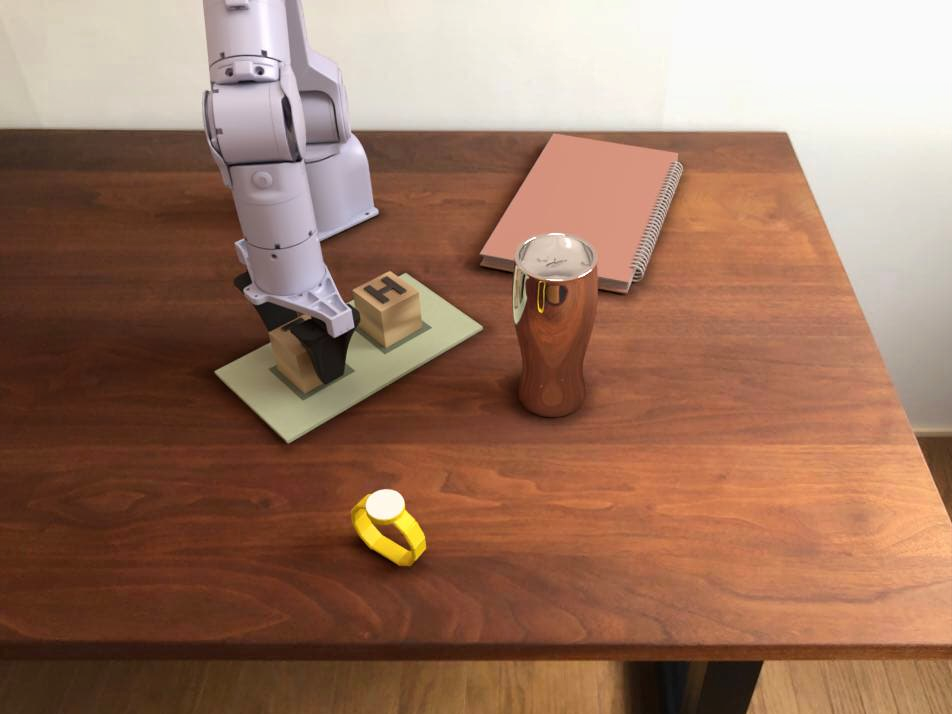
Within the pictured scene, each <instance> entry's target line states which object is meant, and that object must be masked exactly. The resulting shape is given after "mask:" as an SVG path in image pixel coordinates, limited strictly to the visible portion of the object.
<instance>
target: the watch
mask: <svg viewBox="0 0 952 714" xmlns="http://www.w3.org/2000/svg"><path fill="white" fill-rule="evenodd" d="M350 521H351V524H352V526H353V528H354V530H355V532H356V534H357V535H358V537H359V538H360V539H361V540H362V542H364V544H365V546H367V547H368V548H369V549H370V551H372V550H373V551H374V552H375V553H377V554H379V555H381V556H383V557H384V558H386V559H388V560H389V561H391V562H392V563H394V564H396V565H397V566H398V567H411V566H413V564H414V563H415V562H416V561H418V559H419V557H421V555H422V554H423V553H424V552H425V551H426V550H427V543H426V536H425V533H424V531H423V530H422V528H421V527H420V525H419V523H418V521H416V519H415V518H414V517H413V516H412V515H411V514H410V513H409V512H408V510H406V502H405V499H404V497H403V496H402V494H401V493H399V491H397V490H394V489H390V488H389V489H388V488H383V489H379V490H376V491H375V492H373V493H368V494H366V495H365V496H363V497H362V498H361V499H360V500H359V502H357V503H356V504H355V505H354V506H353V508H351V510H350ZM374 524H376V525H379V526H389V525H393V526H394V527H395V528H396V530H397V531H399V532H400V533H401V534H402V536H403V537H404V539H405V541H406V542H407V544H408V546H409V548H410V550H409V549H406V548H404V547H403V546H401V545H399V544H398V543H396V542H394V541H393V540H391V539H390V538H388V537H386V536H384V535H383V534H382V533H381V532H380V531H379V530H378V529H377V527H376V526H375V525H374Z"/></svg>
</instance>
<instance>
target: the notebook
mask: <svg viewBox="0 0 952 714" xmlns="http://www.w3.org/2000/svg"><path fill="white" fill-rule="evenodd" d="M678 159H679V152H674V151H669V150H661V149H654V148H648V147H642V146H637V145H629V144H625V143H624V144H623V143H618V142H613V141H611V142H610V141H605V140H604V141H603V140H600V139H599V140H598V139H593V138H586V137H579V136H573V135H568V134H561V133H553V134H552V135H551V137H550V139H549V140H548V142H547V143H546V144H545V146H544V148H543V149H542V152H541V153H540V155H539V157H538V158H537V160H536V161H535V163H534V164H533V166H532V168H531V169H530V171H529V173H528V174H527V176H526V178H525V179H524V181H523V183H522V184H521V186H520V187H519V189H518V191H517V192H516V194H515V196H514V197H513V199H512V200H511V201H510V204H509V205H508V206H507V209H506V210H505V212H504V214H503V215H502V217H500V220H499V222H498V223H497V225H496V227H494V230H493V231H492V233H491V235H490V236H489V238H488V240H487V241H486V242H485V244H484V246H483V248H482V249H481V251H480V253H479V256H481V257H483V258H482V260H481V262H480V264H479V266H480V267H486V268H491V269H496V270H501V271H506V272H511V273H513V270H514V254H515V250H516V248H517V247H518V245H519V244H520V243H521V242H523V241H524V240H526V239H527V238H529V237H532V236H534V235H537V234H542V233H549V232H561V233H568V234H572V235H576V236H578V237H581V238H583V239H585V240H586V241H588V242H589V243H590V244H592V246H593V247H594V248H595V249H596V251H597V255H598V261H597V266H598V290H599V289H600V290H604V291H609V292H615V293H619V294H624V295H628V293H629V290H630V287H631V285H632V282H633V283H638V282H640V281H642V280H643V278H644V276H645V272H646V270H647V267H648V265H649V262H650V259H651V257H652V254H653V251H654V248H655V246H656V244H657V241H658V238H659V235H660V233H661V231H662V227H663V224H664V222H665V219H666V216H667V214H668V212H669V208H670V206H671V204H672V201H673V198H674V195H675V193H676V190H677V187H678V185H679V182H680V179H681V177H682V173H683V171H684V167H683V165H682V164H681V162H679V161H678Z"/></svg>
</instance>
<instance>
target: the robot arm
mask: <svg viewBox="0 0 952 714" xmlns="http://www.w3.org/2000/svg"><path fill="white" fill-rule="evenodd" d="M202 7H203V8H202V9H203V18H204V29H205V39H206V52H207V63H208V72H209V84H210V90H208V89H204V91H203V92H202V99H201V100H202V101H201V113H202V122H203V127H204V133H205V137H206V141H207V144H208V147H209V149H210V152H211V156H212V158H213V161H214V162H215V164H216V165H217V168H218V170H219V171H220V174H221V178H222V182H223V185H224V186H225V188H226V189H229V190H230V191H231V194H232V198H233V202H234V206H235V211H236V214H237V217H238V222H239V226H240V229H241V232H242V236H243V238H242V239H240V240H238V241H237V240H236V241H235V242H234V247H235V252H236V255H237V259H238V261H239V263H241V264H242V265H244V266H245V267H246V269H245V272H243V273H241V274H238V275H237V276H236V277H235V278H234V279H233V286H235V288H237V289H238V290H239V291H240V292H241V293H242V294H243V295H244V297H245V299H246V300H247V301H249V303H250V304H251V305H252V307H254V309H255V311H256V312H257V314H258V315H259V318H260V319H261V321H262V323H263V324H264V326H265V328H266V329H267V332H270V331H272V330H274V329H276V328H278V327H280V326H282V325H284V324H286V323H288V322H290V321H292V320H294V319H296V318H298V317H299V316H298V313H301V314H302V315H304V314H306V315H309V316H311V319H307V320H305V321H304V322H302V323H300V324H298V325H296V326H294V327H292V328H290V332H291V333H292V334H293V335H294V336H295V337H296V338H297V339H298V340H299V341H300V342H301V344H302V345H303V346H304V348H305V349H306V351H307V353H308V355H309V357H310V359H311V362H312V364H313V367H314V370H315V372H316V374H317V376H318V378H319V379H320V381H321V382H322V383H324V384H325V385H327V384H328V383H330V382H332V381H334V380H336V379H337V378H339V377H341V376H343V375H344V370H345V363H346V356H347V350H348V346H349V342H350V340H351V337H352V335H353V333H354V331H355V329H356V328H357V326H358V324H359V323H360V321H361V319H360V313H359V311H358V310H357V309H355V308H354V307H353V306H352V305H350V304H349V303H348V302H347V303H348V304H346V303H345V301H344V300H343V298H342V295H341V294H340V293H339V290H338V289H337V286H336V284H335V281H334V280H333V277H332V275H331V272H330V271H329V269H328V266H327V265H326V263H325V262H324V256H323V252H322V248H321V247H322V246H321V242H322V241H325V240H326V239H329V238H330V237H333V236H335V235H338V234H339V233H341V232H344V231H345V230H348V229H350V228H352V227H355V226H356V225H358V224H361V223H363V222H365V221H367V220H369V219H371V218H373V217H377V216H378V215H379V213H380V212H379V209H378V208H376V207H375V202H374V196H373V187H372V180H371V173H370V166H369V160H368V157H367V154H366V152H365V149H364V147H363V145H362V143H361V142H360V140H359V139H358V137H357V136H356V135H355V134H354V133H353V132H352V125H351V124H352V123H351V114H350V106H349V99H348V93H347V88H346V85H345V84H344V79H343V78H344V77H343V72H342V69H341V68H340V66H339V63H338V62H336V61H335V60H333V59H331V58H330V57H327V56H326V55H324V54H322V53H320V52H319V51H317V50H314V49H313V48H312V47H310V43H309V37H308V32H307V30H308V29H307V25H306V20H305V15H304V14H305V13H304V7H303V2H302V0H202Z"/></svg>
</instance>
